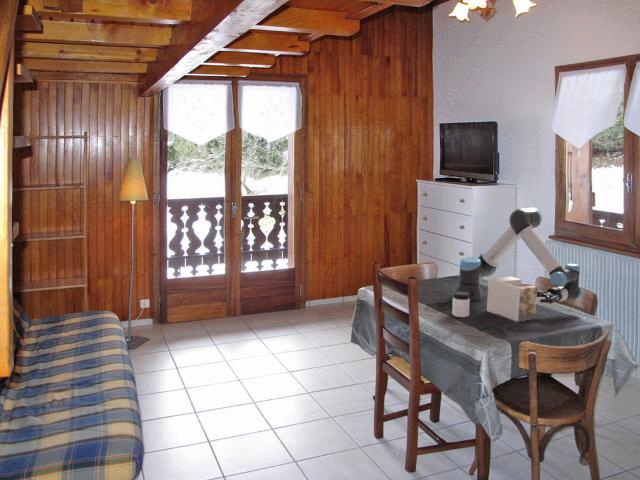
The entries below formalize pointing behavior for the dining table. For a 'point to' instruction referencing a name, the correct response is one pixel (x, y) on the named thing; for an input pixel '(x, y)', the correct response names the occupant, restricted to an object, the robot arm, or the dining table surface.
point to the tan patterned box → (528, 299)
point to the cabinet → (506, 299)
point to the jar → (460, 304)
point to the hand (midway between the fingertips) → (525, 297)
